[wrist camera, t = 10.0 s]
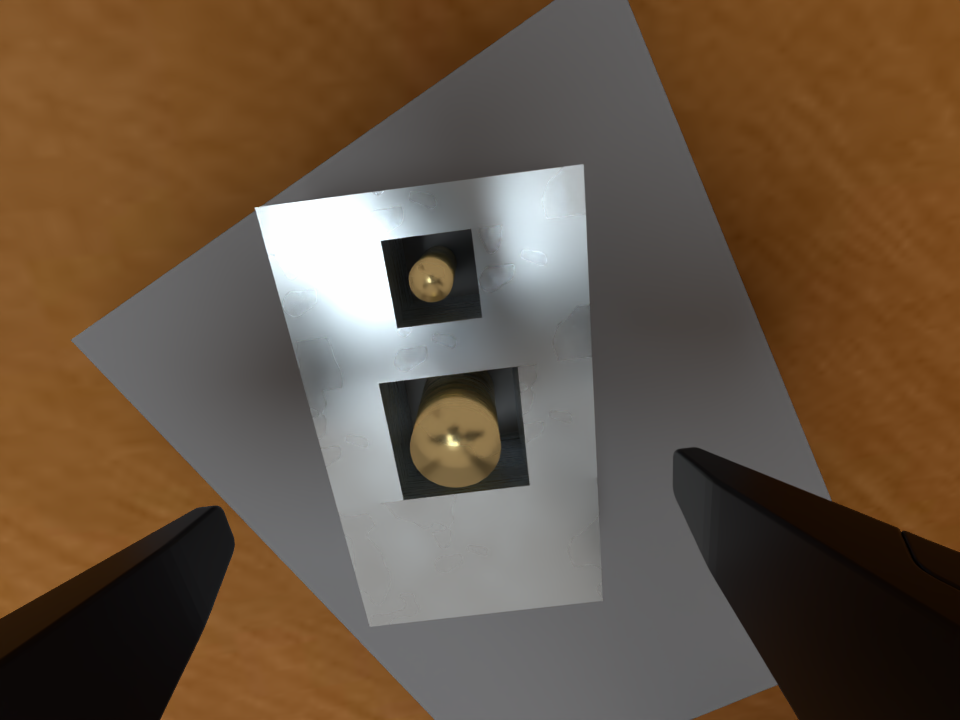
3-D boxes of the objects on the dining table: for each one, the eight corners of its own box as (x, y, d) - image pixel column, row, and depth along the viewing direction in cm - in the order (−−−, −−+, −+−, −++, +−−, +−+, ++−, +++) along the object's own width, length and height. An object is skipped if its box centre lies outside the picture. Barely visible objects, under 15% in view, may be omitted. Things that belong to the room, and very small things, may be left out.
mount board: (868, 618, 19) (888, 640, 18) (504, 768, 22) (506, 794, 21) (599, -20, 12) (611, -40, 11) (96, 331, 14) (71, 339, 13)
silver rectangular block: (579, 530, 16) (602, 600, 13) (387, 553, 16) (369, 626, 13) (557, 173, 12) (583, 164, 9) (303, 206, 12) (254, 207, 10)
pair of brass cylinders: (497, 417, 15) (505, 481, 11) (430, 425, 15) (418, 492, 11) (475, 240, 13) (477, 253, 9) (398, 251, 13) (373, 267, 9)
